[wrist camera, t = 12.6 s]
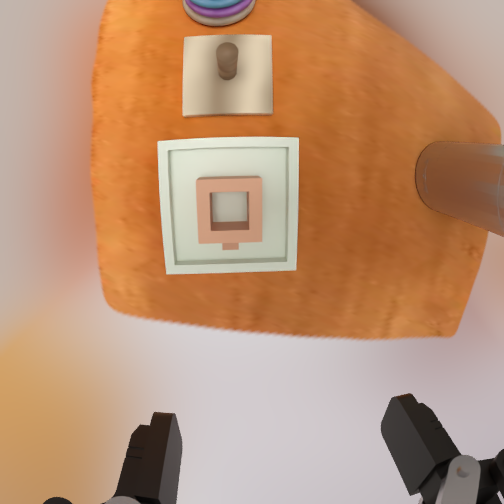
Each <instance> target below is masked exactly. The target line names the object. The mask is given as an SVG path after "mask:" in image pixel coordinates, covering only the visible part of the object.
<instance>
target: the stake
mask: <svg viewBox="0 0 504 504" xmlns="http://www.w3.org/2000/svg"><path fill="white" fill-rule="evenodd" d="M272 114H273V84H272V39H271V35H207V36H192V37H184V56H183V116H184V117H201V116H225V115H272Z"/></svg>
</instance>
